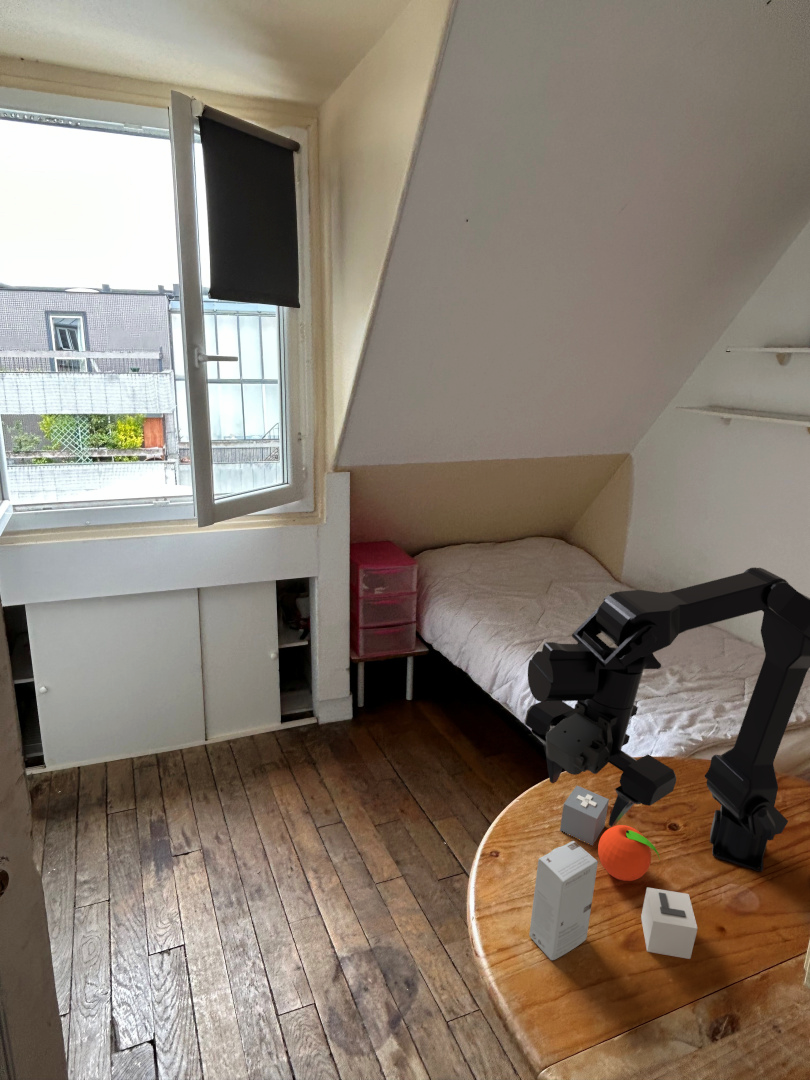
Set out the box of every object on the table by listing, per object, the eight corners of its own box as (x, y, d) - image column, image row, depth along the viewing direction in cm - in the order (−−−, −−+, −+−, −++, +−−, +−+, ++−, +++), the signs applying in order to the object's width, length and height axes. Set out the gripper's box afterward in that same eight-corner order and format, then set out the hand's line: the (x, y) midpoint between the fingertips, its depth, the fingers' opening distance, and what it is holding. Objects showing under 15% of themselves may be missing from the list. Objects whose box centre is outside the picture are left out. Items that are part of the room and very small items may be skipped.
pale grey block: (681, 924, 87) (689, 892, 85) (690, 959, 82) (697, 927, 80) (641, 917, 88) (647, 886, 86) (646, 951, 83) (653, 919, 81)
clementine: (659, 867, 95) (667, 827, 93) (650, 904, 89) (659, 861, 87) (601, 846, 99) (607, 806, 96) (589, 880, 93) (596, 838, 90)
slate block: (604, 826, 103) (609, 798, 101) (592, 846, 99) (597, 817, 97) (572, 811, 105) (576, 784, 103) (559, 831, 101) (563, 802, 100)
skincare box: (552, 963, 81) (564, 884, 77) (526, 935, 84) (536, 858, 80) (588, 939, 84) (601, 862, 80) (562, 912, 88) (573, 837, 84)
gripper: (508, 675, 84) (486, 781, 89) (641, 758, 71) (606, 877, 76) (564, 656, 91) (540, 755, 96) (694, 729, 78) (659, 839, 83)
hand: (581, 802), depth 87 cm, fingers open, 9 cm apart
